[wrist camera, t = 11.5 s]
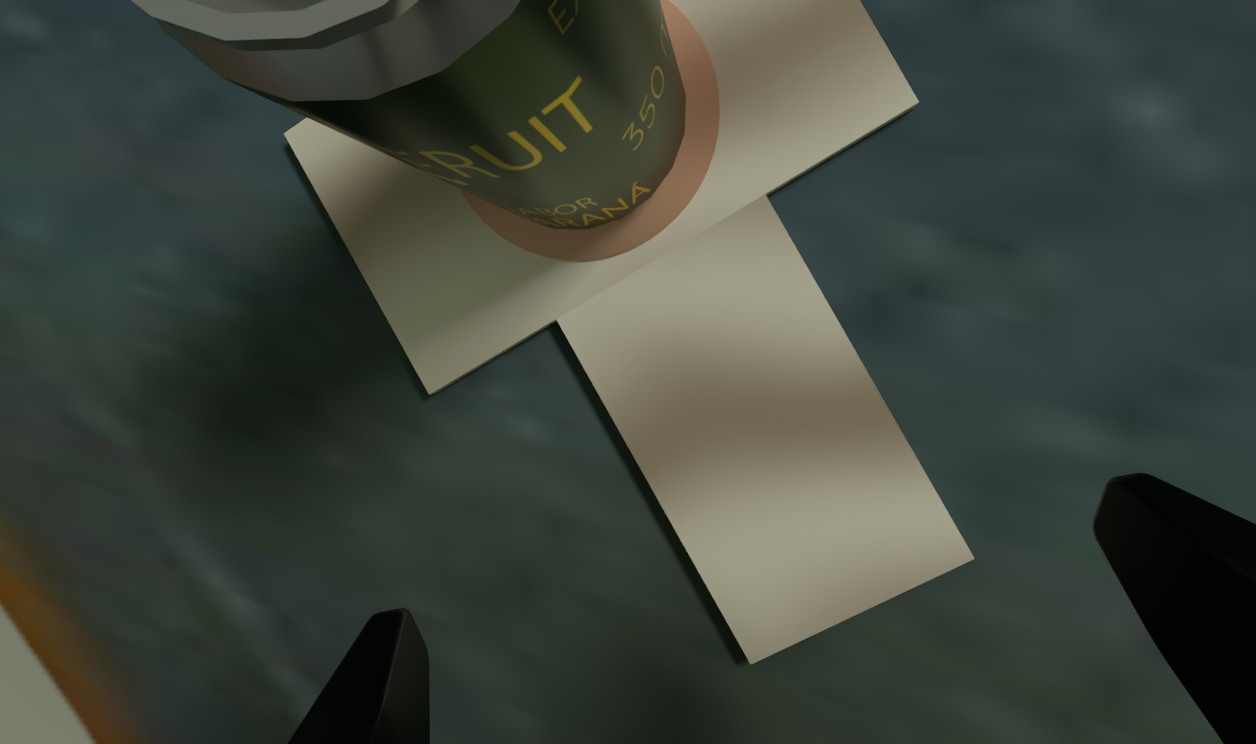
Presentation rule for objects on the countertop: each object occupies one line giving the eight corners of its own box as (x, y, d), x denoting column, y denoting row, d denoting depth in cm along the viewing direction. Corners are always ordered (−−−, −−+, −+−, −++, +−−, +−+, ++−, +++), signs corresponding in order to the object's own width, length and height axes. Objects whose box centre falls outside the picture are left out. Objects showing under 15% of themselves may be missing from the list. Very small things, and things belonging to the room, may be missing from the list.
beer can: (463, 35, 18) (-48, -480, 7) (674, -8, 17) (519, -699, 6) (492, 248, 19) (48, 119, 7) (702, 216, 18) (608, 2, 6)
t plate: (1130, 477, 17) (1141, 481, 16) (617, 720, 19) (614, 731, 19) (747, -181, 17) (747, -196, 17) (293, 137, 20) (281, 133, 19)
